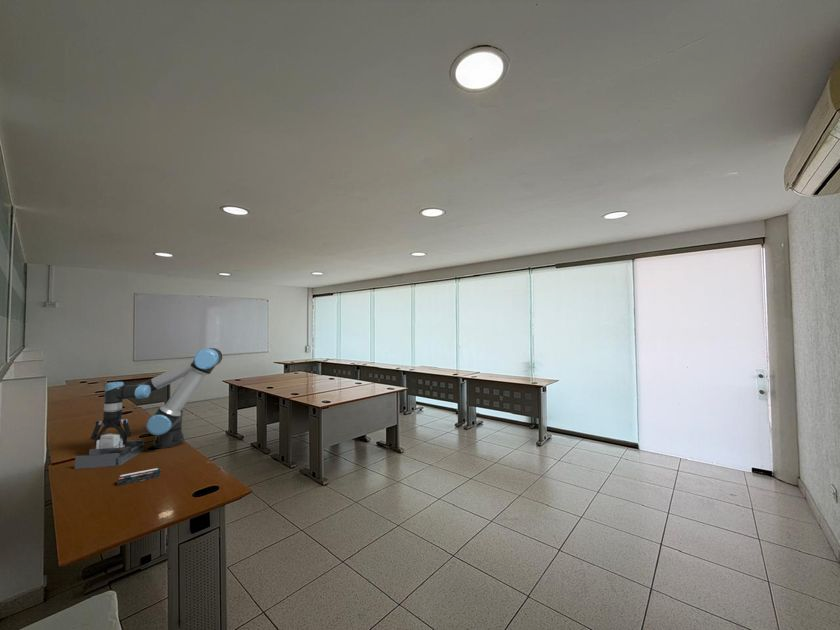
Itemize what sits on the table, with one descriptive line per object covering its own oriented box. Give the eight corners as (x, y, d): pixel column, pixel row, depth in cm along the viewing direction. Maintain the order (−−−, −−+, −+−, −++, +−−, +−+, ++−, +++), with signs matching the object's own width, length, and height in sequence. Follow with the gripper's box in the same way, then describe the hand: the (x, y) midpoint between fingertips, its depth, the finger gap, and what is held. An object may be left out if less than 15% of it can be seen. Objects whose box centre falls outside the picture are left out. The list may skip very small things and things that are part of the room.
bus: (167, 480, 155) (168, 471, 155) (93, 496, 139) (94, 485, 139) (166, 470, 166) (167, 461, 166) (97, 483, 150) (98, 474, 151)
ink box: (98, 457, 179) (99, 435, 180) (107, 454, 185) (109, 432, 185) (112, 458, 179) (113, 436, 179) (121, 455, 184) (123, 433, 184)
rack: (144, 450, 191) (144, 439, 191) (120, 465, 169) (121, 453, 170) (104, 453, 186) (104, 442, 186) (74, 469, 164) (75, 456, 165)
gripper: (140, 407, 190) (138, 447, 188) (92, 409, 184) (89, 450, 182) (133, 410, 182) (130, 451, 181) (82, 413, 176) (80, 455, 175)
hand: (110, 451), depth 182 cm, fingers open, 10 cm apart
